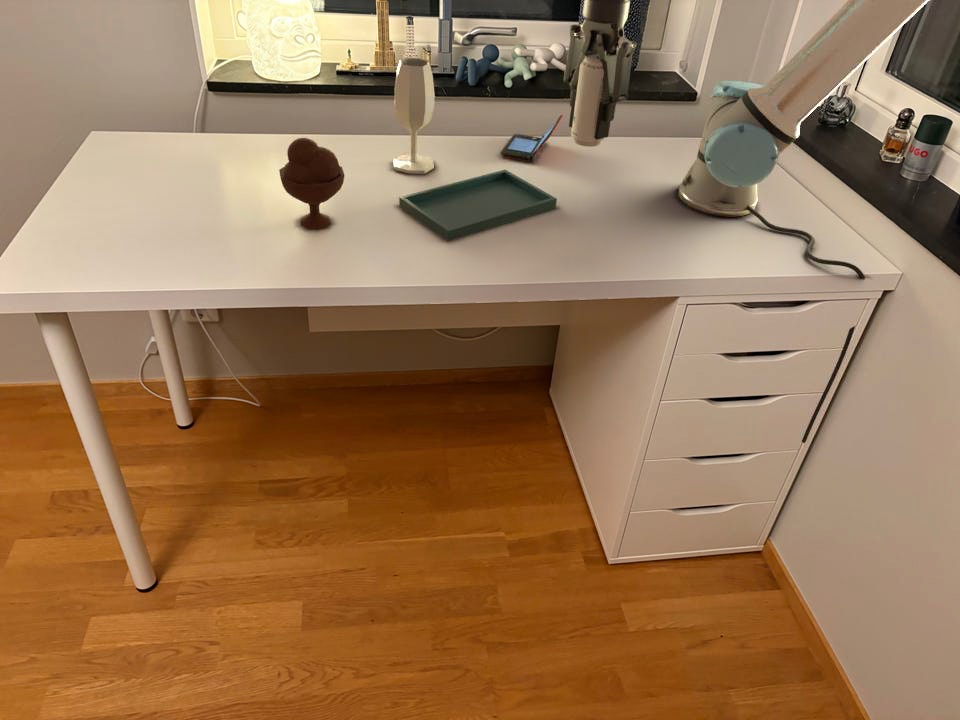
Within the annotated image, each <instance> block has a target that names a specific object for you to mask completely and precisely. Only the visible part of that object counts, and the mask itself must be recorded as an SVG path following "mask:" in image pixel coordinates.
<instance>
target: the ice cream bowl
mask: <svg viewBox="0 0 960 720" xmlns="http://www.w3.org/2000/svg"><path fill="white" fill-rule="evenodd" d="M286 151H287V152H286V155H287V160H288V161H287V163H285V165H284V166H283V167H281V168H280V169H278V171H279V178H280V181H281V184H282V187H283V189H284V190H285V193H287V194H288V195H289V196H291V197H292V198H294V199H295V200H298V201H300V202H302V203H304V204H307V205H308V206H309V213H307V214H305V215H303V216H302V217H301V218H300V219H299V223H300V224H299V225H300V227H301V228H304V229H307V230H312V231H313V230H315V231H318V230H323V229H327V228H328V227H329V226H330V225H332V222H331V218H330V216H328V215H326V214H324V213H322V212H321V211H320V205H321V204H323V203H325V202H327V201H329V200H330V199H332V198H333V197H334V196H335V195H336V194H337V193H338V192H339V191H341V189H342V187H343V184H344V182H345V180H344V179H345V172H344V169H343V166H341V165H340V163H339V159H338V157H337V156H336V155H335V153H334V152H333V151H332V150H330V149H328V148H326V147H323V146H319V144H318V143H317V142H316V141H315V140H313V139H311V138H308V137H299V138H296V139H294V140H293V141H292V142H291V143H290V144H289V146H288V148H287V150H286Z"/></svg>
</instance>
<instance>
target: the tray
mask: <svg viewBox="0 0 960 720" xmlns="http://www.w3.org/2000/svg"><path fill="white" fill-rule="evenodd" d="M557 200H558V198H556V197H555V196H553V195H551V194H550V193H547V192H546V191H545V190H543V189H541V188H539V187H537V186H536V185H533V184H532V183H530V182H529V181H526V180H525V179H523V178H521V177H519V176H518V175H516V174H514V173H512V172H511V171H509V170H507V169H502V170H498V171H494V172H489V173H485V174H483V175H479V176H475V177H471V178H468V179H462V180H459V181H455V182H452V183H448V184H444V185H440V186H436V187H433V188H429V189H425V190H421V191H417V192H413V193H410V194H406V195H402V196H399V197H398V207H399V208H400V209H402V210H403V211H404V212H406V213H408V214H409V215H410V216H411V217H413V218H414V219H416V220H417V221H419V222H420V223H421V224H423V225H424V226H426V227H427V228H428V229H429V230H431V231H433V232H434V233H436V234H437V235H439V236H440V237H441V238H442V239H444V240H445V241H447V242H450V241H454V240H456V239H461V238H463V237H467V236H469V235H472V234H477V233H480V232H483V231H486V230H490V229H493V228H496V227H499V226H502V225H506V224H508V223H513V222H515V221H518V220H522V219H524V218H529V217H532V216H534V215H538V214H541V213H544V212H547V211H551V210H553V209H556V208H557V202H558V201H557Z"/></svg>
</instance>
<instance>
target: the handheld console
mask: <svg viewBox="0 0 960 720" xmlns="http://www.w3.org/2000/svg"><path fill="white" fill-rule="evenodd" d="M562 118H563V114H560V115H559V117H558V118H557V119H556V121H555V122H554V123H553V125H552V126H551V127H550V128H549V129H548V130H547V132H546V133H545V134H544V135H542V136H541V137H539V136H532V135H528V134H527V135H526V134H520V133H514V134H513V135H511V138H510V139H508V141H507V143H506V144H505V145H504V147H503V148H502V150H500V156H501V157H502V158H507V159H513V160H517V161H523V162H529V163H533V162H534V161H535V160H536V157H537V156H538V154H539V152H540V150H541V149H542V148H543V147H544V145H545V144H546V142H547V141H548V140H549V139H550V138H551V136H552V135H553V133H554V132H555V130H556V129H557V127H558V125H559V124H560V122H561V120H562Z"/></svg>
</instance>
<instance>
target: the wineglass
mask: <svg viewBox="0 0 960 720" xmlns="http://www.w3.org/2000/svg"><path fill="white" fill-rule="evenodd" d="M395 75H396V76H395V82H394V108H395V109H394V110H395V113H396V117H397V118H396V119H397V121H398V123H400V124H401V125H402V126H403V127H404V128H405V129H406V130H407V131H409V132H410V149H409V150H410V151H409V152H410V154H401V155H399V156H397V157H396V158H393V161H392V163H393V170H396V171H398V172H402V173H406V174H423V175H424V174H427V173H428V172H430V171H431V170H433V169H434V168H435V166H434V165H435V164H434V160H433V158H431V157H427V156H424V155H422V154H418V132H419V131H420V130H422V129H423V128H424V127H425V126H426V125H428V124H429V123H430V122H431V121H432V118H433V113H434V110H435V97H436V96H435V84H434V75H433V72H432V67H431V64H430V60H429V59H427V58H422V57H404V58H402V59H400V60H399V63H398V66H397V69H396V74H395Z"/></svg>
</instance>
